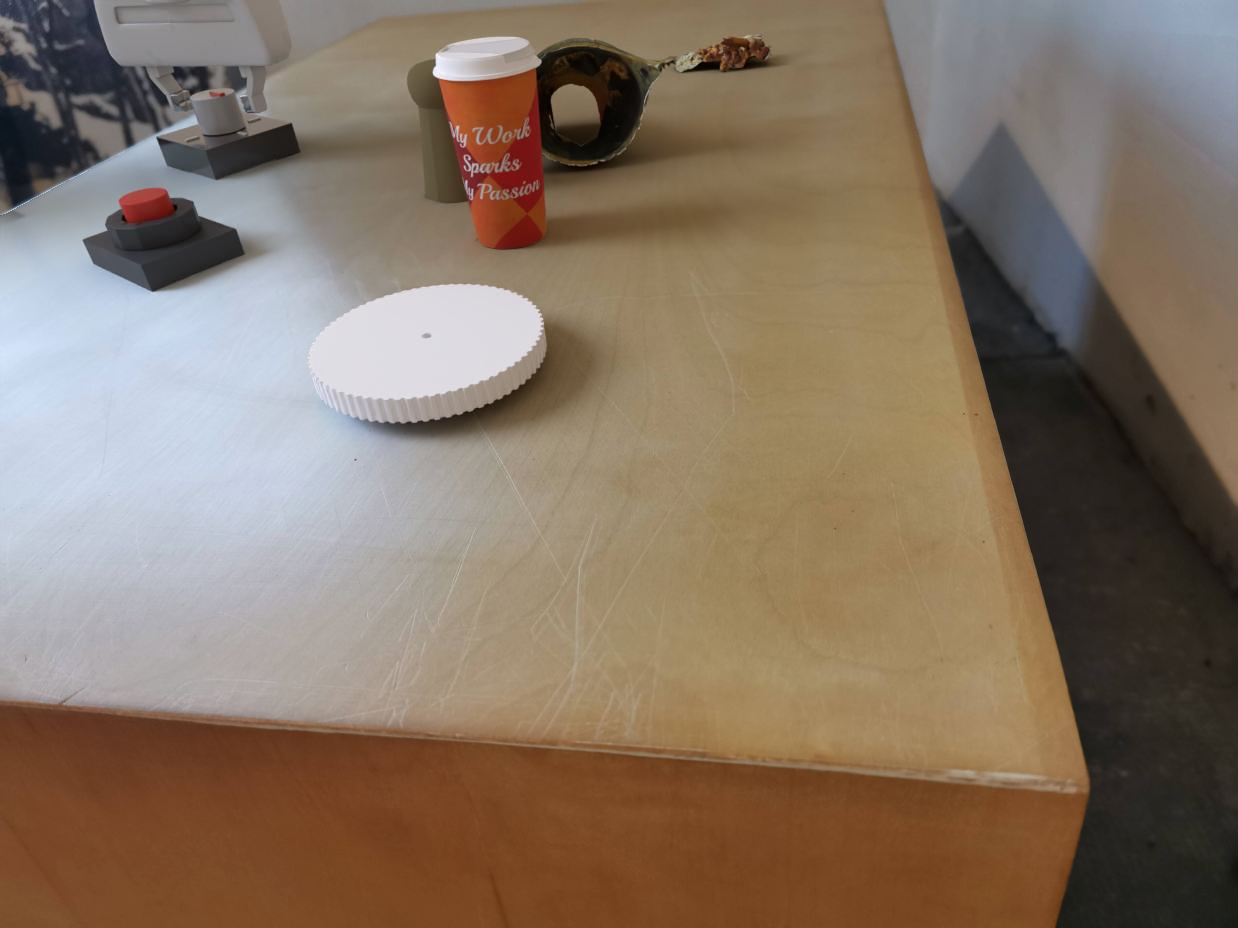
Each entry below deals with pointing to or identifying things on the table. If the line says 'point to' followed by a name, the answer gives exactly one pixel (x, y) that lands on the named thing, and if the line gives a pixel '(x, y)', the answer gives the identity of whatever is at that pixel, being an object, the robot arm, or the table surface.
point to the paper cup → (496, 136)
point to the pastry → (727, 53)
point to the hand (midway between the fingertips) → (219, 111)
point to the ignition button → (146, 205)
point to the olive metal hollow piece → (595, 95)
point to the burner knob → (217, 111)
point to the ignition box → (163, 246)
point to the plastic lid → (427, 353)
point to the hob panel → (229, 147)
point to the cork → (435, 137)
